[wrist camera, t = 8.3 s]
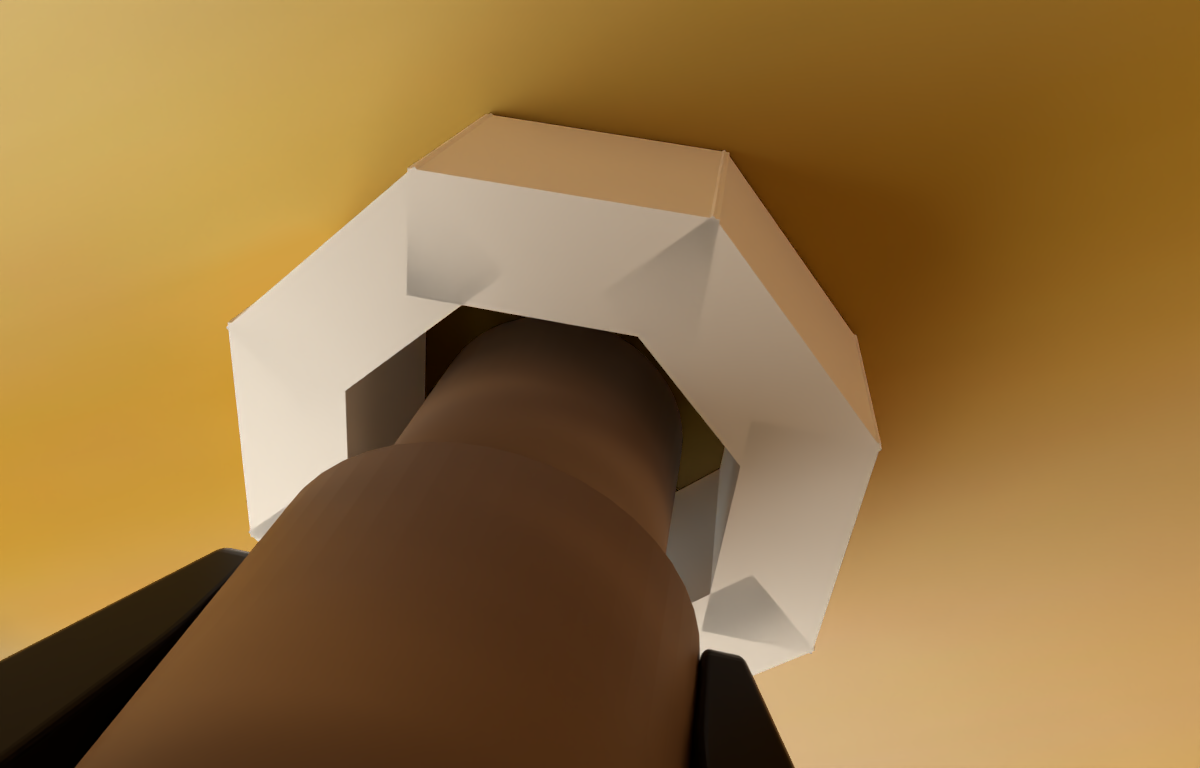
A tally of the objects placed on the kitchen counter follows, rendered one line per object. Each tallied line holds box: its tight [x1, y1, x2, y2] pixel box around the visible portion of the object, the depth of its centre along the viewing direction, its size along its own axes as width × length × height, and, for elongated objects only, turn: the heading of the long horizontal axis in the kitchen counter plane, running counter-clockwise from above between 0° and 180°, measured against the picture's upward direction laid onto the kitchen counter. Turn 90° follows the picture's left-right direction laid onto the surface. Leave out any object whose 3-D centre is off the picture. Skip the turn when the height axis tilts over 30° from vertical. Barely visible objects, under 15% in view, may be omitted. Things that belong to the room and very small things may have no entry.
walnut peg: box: [75, 317, 700, 768], centre depth 8 cm, size 5×5×10 cm
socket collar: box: [226, 113, 882, 676], centre depth 12 cm, size 8×8×3 cm
